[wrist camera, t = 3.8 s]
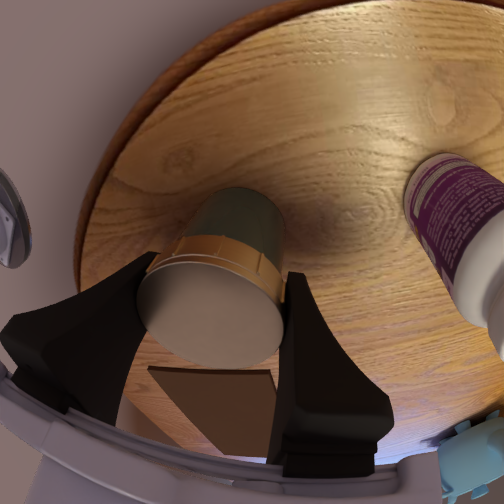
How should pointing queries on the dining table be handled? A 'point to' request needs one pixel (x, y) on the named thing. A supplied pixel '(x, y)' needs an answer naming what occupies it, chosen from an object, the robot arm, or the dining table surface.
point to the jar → (242, 222)
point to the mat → (224, 405)
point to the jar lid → (214, 302)
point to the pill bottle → (462, 235)
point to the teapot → (472, 457)
